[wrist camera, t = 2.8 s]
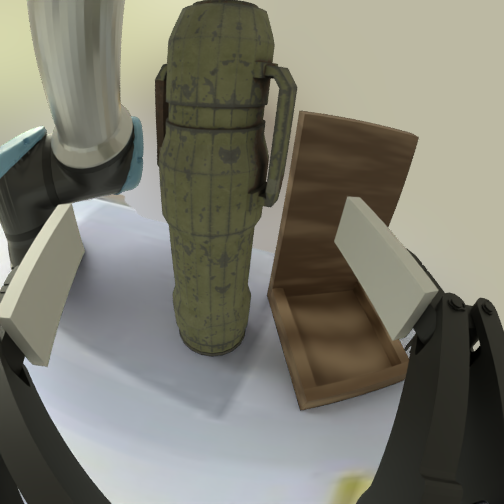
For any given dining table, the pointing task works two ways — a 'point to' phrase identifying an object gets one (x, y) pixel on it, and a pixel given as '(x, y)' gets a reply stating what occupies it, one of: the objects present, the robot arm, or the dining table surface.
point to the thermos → (218, 161)
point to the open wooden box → (335, 259)
